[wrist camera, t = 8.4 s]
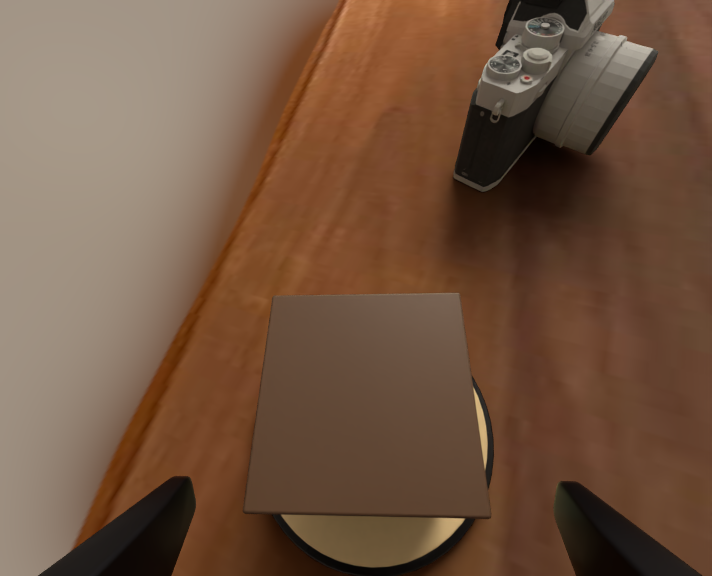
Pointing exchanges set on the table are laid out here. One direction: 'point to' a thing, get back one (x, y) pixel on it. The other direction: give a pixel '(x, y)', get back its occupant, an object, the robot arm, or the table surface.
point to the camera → (548, 86)
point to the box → (368, 425)
